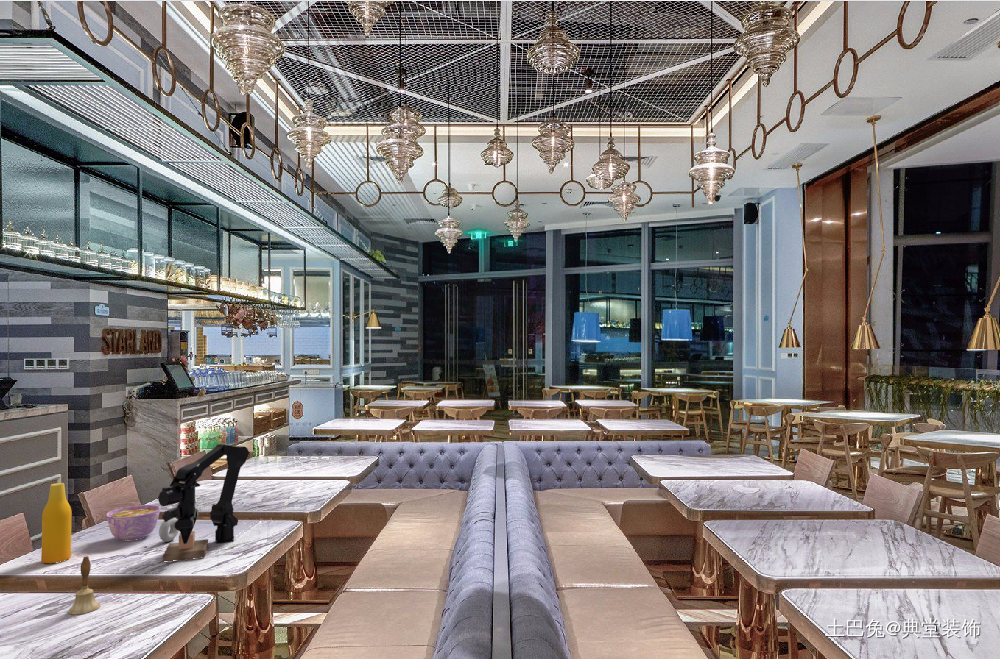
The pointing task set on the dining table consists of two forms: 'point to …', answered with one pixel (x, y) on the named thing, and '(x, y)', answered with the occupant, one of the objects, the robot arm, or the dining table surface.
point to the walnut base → (185, 551)
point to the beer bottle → (56, 526)
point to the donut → (164, 530)
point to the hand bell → (84, 593)
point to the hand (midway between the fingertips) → (186, 540)
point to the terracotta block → (189, 543)
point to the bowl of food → (133, 521)
